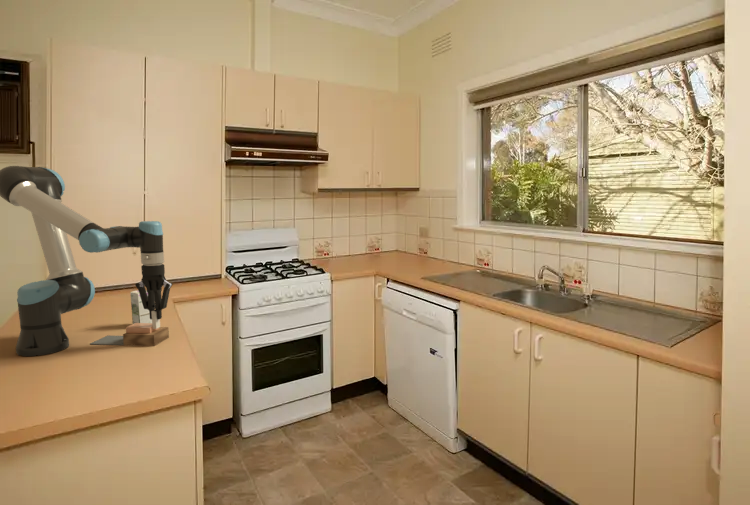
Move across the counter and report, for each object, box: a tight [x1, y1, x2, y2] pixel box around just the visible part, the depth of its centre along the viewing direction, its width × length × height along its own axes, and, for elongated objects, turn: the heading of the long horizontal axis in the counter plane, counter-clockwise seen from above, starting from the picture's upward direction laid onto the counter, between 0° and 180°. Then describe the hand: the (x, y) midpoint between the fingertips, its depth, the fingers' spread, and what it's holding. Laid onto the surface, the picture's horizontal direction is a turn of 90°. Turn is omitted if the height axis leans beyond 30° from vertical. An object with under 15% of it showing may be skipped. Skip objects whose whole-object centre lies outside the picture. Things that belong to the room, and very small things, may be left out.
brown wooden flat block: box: [122, 326, 170, 347], centre depth 172 cm, size 12×10×4 cm
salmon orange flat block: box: [125, 323, 159, 333], centre depth 171 cm, size 9×6×2 cm, turn 86°
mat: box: [89, 334, 125, 346], centre depth 173 cm, size 13×10×1 cm
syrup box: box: [129, 289, 152, 324], centre depth 192 cm, size 6×6×14 cm
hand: (156, 327), depth 171 cm, fingers closed
